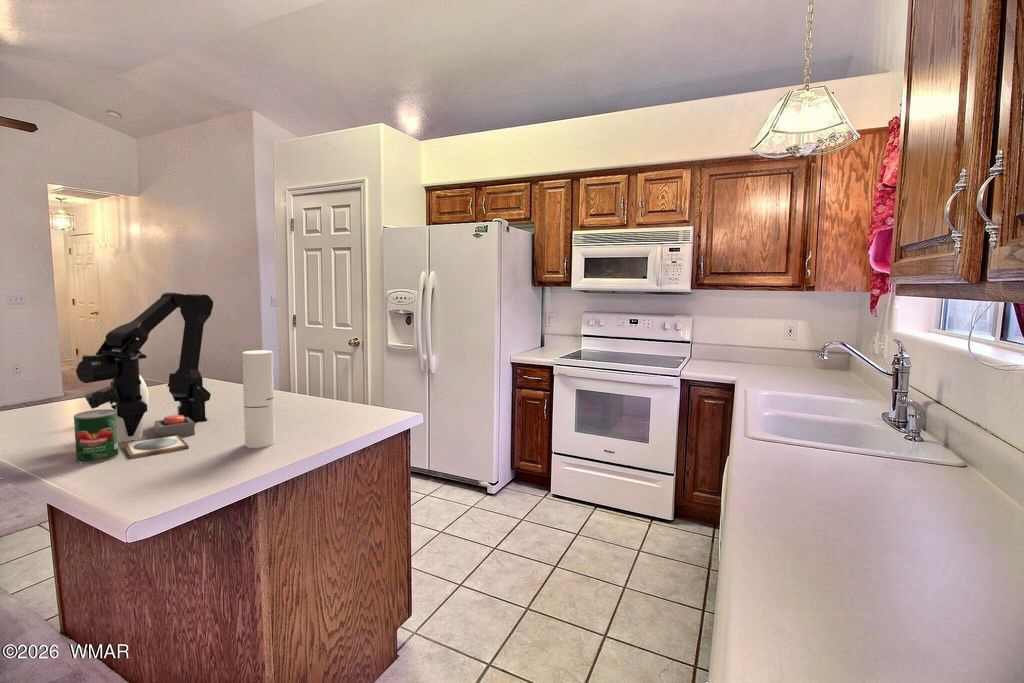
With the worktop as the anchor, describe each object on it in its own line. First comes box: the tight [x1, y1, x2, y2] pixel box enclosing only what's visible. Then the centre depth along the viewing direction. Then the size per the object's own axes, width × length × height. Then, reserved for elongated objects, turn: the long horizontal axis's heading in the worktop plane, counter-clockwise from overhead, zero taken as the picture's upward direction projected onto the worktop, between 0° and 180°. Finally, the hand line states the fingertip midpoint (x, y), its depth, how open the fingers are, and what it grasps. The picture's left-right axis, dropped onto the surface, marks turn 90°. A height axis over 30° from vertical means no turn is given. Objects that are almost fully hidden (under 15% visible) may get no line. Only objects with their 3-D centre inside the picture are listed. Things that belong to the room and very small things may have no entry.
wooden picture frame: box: [122, 435, 190, 459], centre depth 126 cm, size 12×12×1 cm
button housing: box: [153, 417, 196, 438], centre depth 138 cm, size 8×8×4 cm
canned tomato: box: [73, 408, 120, 464], centre depth 117 cm, size 8×8×11 cm
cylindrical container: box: [242, 349, 276, 449], centre depth 130 cm, size 7×7×25 cm
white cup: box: [117, 414, 145, 442], centre depth 132 cm, size 7×7×7 cm
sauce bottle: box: [139, 374, 150, 407], centre depth 152 cm, size 8×8×18 cm
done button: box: [163, 414, 185, 426], centre depth 137 cm, size 5×5×2 cm
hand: (129, 433), depth 132 cm, fingers closed on white cup, 6 cm apart
